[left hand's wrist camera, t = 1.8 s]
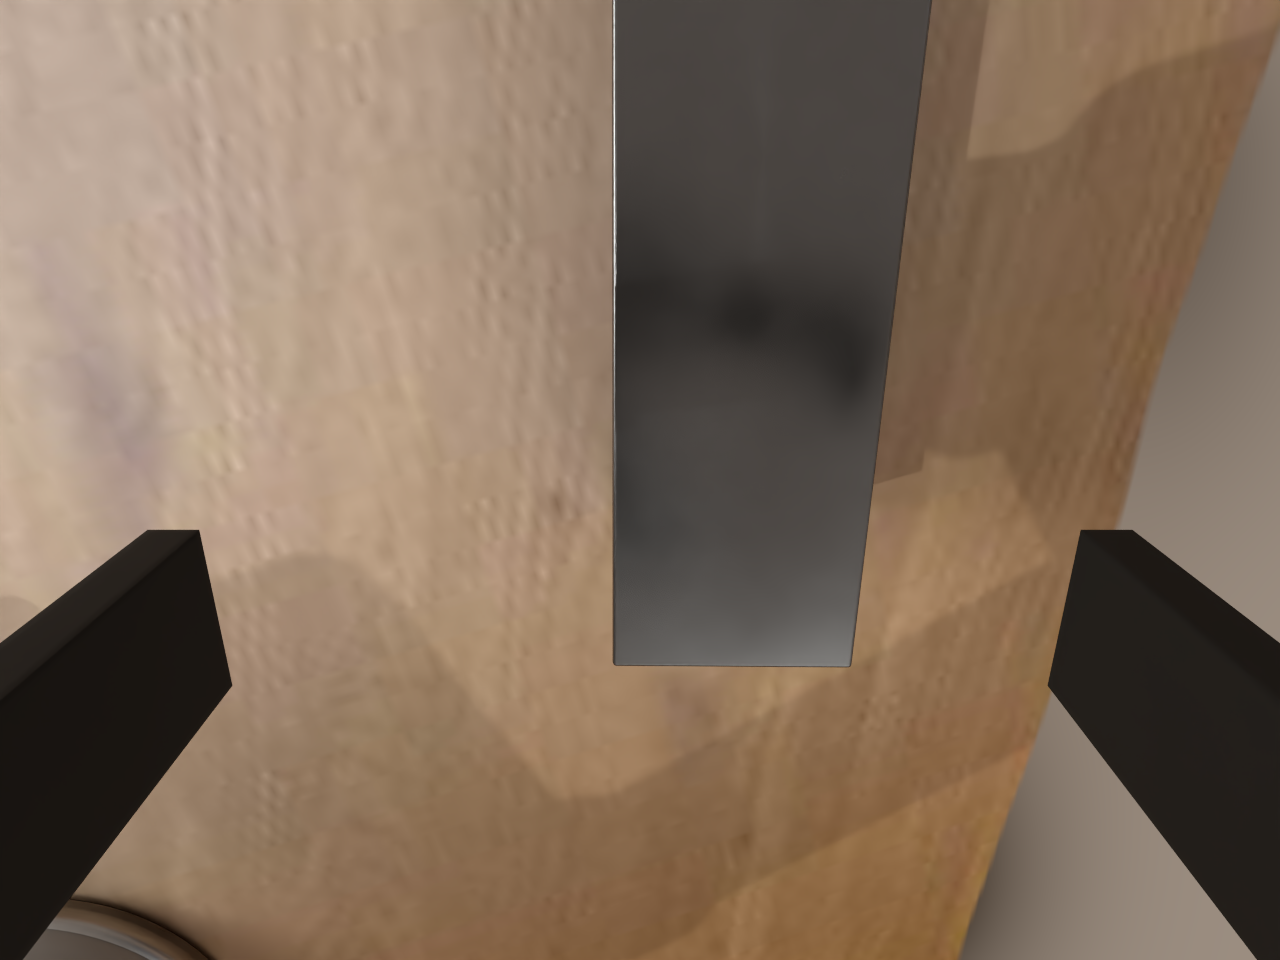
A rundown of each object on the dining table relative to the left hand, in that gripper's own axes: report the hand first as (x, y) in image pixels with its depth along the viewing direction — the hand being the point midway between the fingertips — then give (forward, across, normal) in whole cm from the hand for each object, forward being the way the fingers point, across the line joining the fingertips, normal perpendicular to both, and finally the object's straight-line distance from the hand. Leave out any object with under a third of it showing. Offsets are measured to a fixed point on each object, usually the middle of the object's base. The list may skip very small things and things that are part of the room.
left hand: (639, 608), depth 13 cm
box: (+17, -2, -6) cm, 18 cm away
